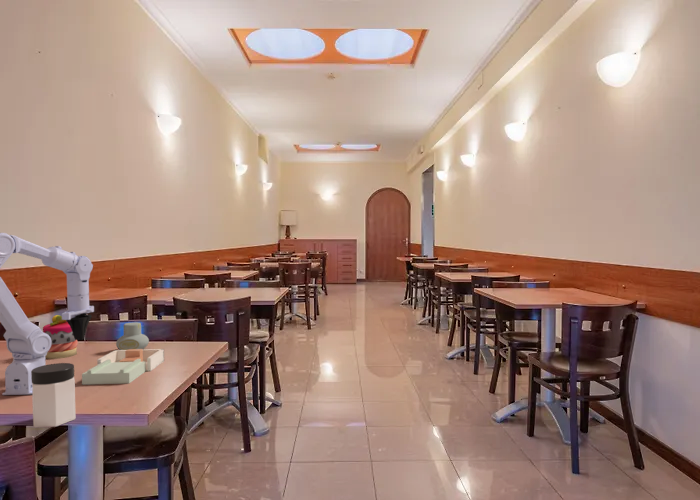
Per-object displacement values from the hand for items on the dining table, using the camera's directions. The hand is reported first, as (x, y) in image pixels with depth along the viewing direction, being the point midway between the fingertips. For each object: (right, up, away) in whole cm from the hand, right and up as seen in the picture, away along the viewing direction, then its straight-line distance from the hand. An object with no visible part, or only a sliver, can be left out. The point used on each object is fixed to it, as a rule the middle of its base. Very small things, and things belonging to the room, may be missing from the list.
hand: (79, 339), depth 141 cm
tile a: (+13, -10, +5) cm, 17 cm away
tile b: (+13, -7, +8) cm, 16 cm away
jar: (+16, -11, -37) cm, 42 cm away
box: (+13, -10, +7) cm, 18 cm away
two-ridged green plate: (+13, -10, -5) cm, 18 cm away
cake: (-20, -10, +23) cm, 32 cm away
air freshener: (+2, -10, +29) cm, 31 cm away
